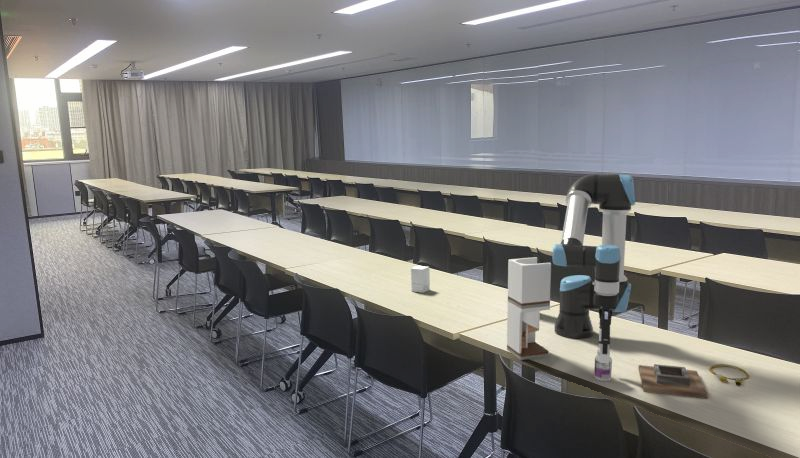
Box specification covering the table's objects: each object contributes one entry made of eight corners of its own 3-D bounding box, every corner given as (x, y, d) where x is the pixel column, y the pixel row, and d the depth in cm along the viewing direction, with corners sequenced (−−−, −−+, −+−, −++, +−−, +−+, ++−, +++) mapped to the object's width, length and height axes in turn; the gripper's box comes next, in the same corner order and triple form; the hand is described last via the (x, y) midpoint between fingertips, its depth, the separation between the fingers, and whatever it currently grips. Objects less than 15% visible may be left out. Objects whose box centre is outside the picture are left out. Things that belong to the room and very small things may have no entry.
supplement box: (430, 289, 303) (430, 266, 301) (423, 293, 296) (423, 269, 294) (418, 288, 307) (417, 265, 305) (411, 291, 300) (410, 267, 298)
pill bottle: (597, 373, 194) (598, 346, 193) (613, 377, 191) (614, 349, 189) (591, 378, 190) (592, 351, 188) (607, 382, 187) (608, 354, 185)
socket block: (638, 369, 197) (639, 358, 196) (696, 374, 192) (697, 363, 191) (643, 391, 180) (644, 379, 180) (707, 398, 175) (708, 386, 174)
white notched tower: (520, 360, 207) (522, 265, 201) (506, 349, 217) (508, 259, 211) (548, 356, 210) (551, 263, 204) (533, 346, 220) (535, 257, 214)
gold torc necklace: (698, 377, 191) (699, 371, 191) (718, 364, 201) (718, 359, 201) (738, 389, 182) (739, 383, 181) (757, 375, 192) (757, 369, 192)
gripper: (593, 283, 199) (591, 342, 202) (594, 302, 175) (591, 368, 178) (616, 284, 196) (613, 344, 199) (620, 303, 173) (617, 370, 176)
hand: (603, 355), depth 189 cm, fingers open, 13 cm apart
